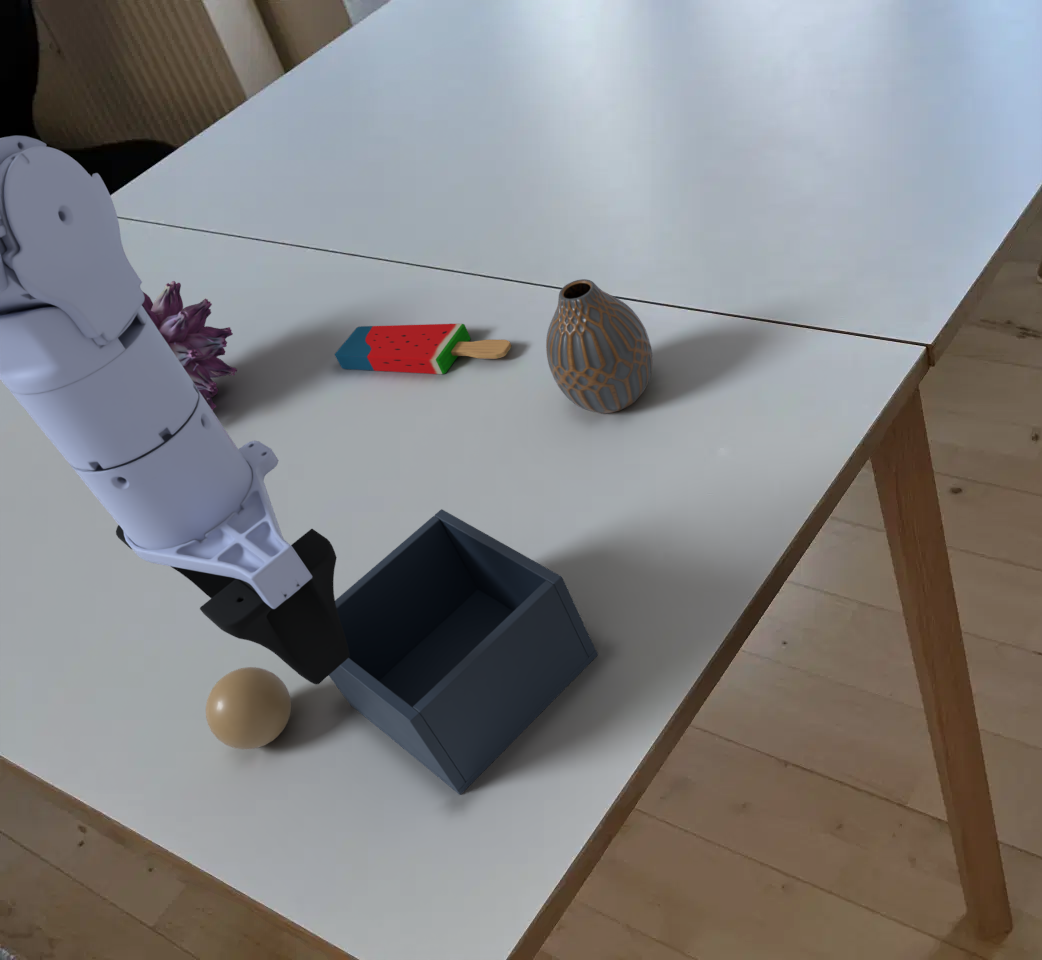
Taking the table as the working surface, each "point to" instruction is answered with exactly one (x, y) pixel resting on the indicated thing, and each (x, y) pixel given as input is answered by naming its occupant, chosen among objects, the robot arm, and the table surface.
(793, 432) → the table surface
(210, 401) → the flower
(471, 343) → the popsicle
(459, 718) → the bin
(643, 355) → the vase
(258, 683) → the brown ball
